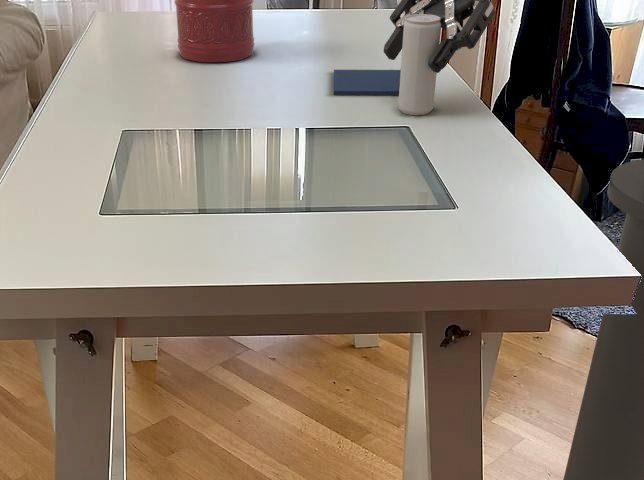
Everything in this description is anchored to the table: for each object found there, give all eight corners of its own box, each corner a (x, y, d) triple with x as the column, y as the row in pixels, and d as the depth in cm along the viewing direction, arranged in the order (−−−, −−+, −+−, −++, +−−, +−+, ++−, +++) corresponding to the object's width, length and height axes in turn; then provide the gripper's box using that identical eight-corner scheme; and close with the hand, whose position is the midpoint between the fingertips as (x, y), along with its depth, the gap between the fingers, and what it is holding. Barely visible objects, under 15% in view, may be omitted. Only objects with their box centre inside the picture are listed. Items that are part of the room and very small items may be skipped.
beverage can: (412, 103, 119) (419, 12, 112) (440, 110, 116) (449, 17, 109) (390, 111, 116) (396, 17, 109) (418, 118, 113) (426, 23, 106)
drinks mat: (410, 73, 132) (410, 69, 132) (416, 95, 122) (416, 91, 122) (333, 73, 132) (333, 69, 132) (333, 94, 123) (333, 90, 122)
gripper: (428, -68, 113) (360, 34, 114) (510, -57, 104) (435, 54, 104) (451, -29, 119) (386, 69, 120) (532, -15, 109) (460, 91, 110)
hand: (409, 62), depth 112 cm, fingers open, 8 cm apart
